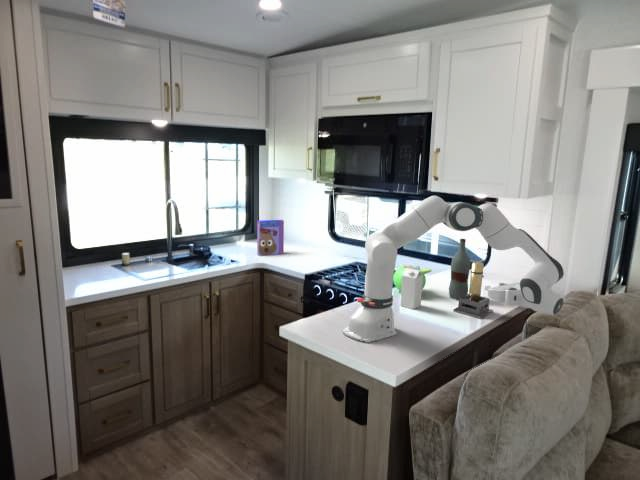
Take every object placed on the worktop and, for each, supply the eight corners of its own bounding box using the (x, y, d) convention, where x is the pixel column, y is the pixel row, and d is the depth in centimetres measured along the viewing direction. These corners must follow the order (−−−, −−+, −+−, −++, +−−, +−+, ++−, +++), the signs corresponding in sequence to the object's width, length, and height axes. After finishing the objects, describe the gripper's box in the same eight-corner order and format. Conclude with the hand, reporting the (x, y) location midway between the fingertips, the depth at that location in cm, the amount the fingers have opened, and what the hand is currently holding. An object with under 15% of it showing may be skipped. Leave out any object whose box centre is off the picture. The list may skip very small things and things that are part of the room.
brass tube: (476, 312, 198) (480, 265, 194) (465, 309, 201) (469, 263, 197) (481, 309, 201) (485, 263, 197) (470, 306, 205) (474, 261, 201)
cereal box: (259, 256, 300) (259, 221, 295) (257, 254, 304) (257, 220, 299) (283, 254, 306) (283, 220, 302) (281, 252, 311) (281, 219, 306)
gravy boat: (387, 288, 235) (389, 261, 232) (416, 286, 239) (418, 260, 236) (401, 298, 217) (403, 270, 215) (432, 296, 222) (434, 268, 219)
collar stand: (480, 319, 193) (481, 305, 191) (453, 311, 202) (454, 297, 200) (493, 312, 202) (494, 298, 200) (466, 304, 211) (467, 291, 209)
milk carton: (407, 302, 213) (409, 264, 209) (420, 305, 208) (423, 266, 205) (400, 305, 207) (402, 267, 204) (413, 309, 203) (416, 269, 199)
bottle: (454, 300, 216) (459, 241, 210) (444, 295, 225) (449, 237, 219) (471, 299, 219) (476, 240, 213) (460, 293, 227) (465, 237, 222)
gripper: (537, 284, 184) (508, 276, 196) (506, 291, 174) (478, 282, 186) (536, 298, 186) (507, 289, 197) (505, 306, 175) (476, 296, 187)
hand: (493, 286), depth 191 cm, fingers open, 8 cm apart
